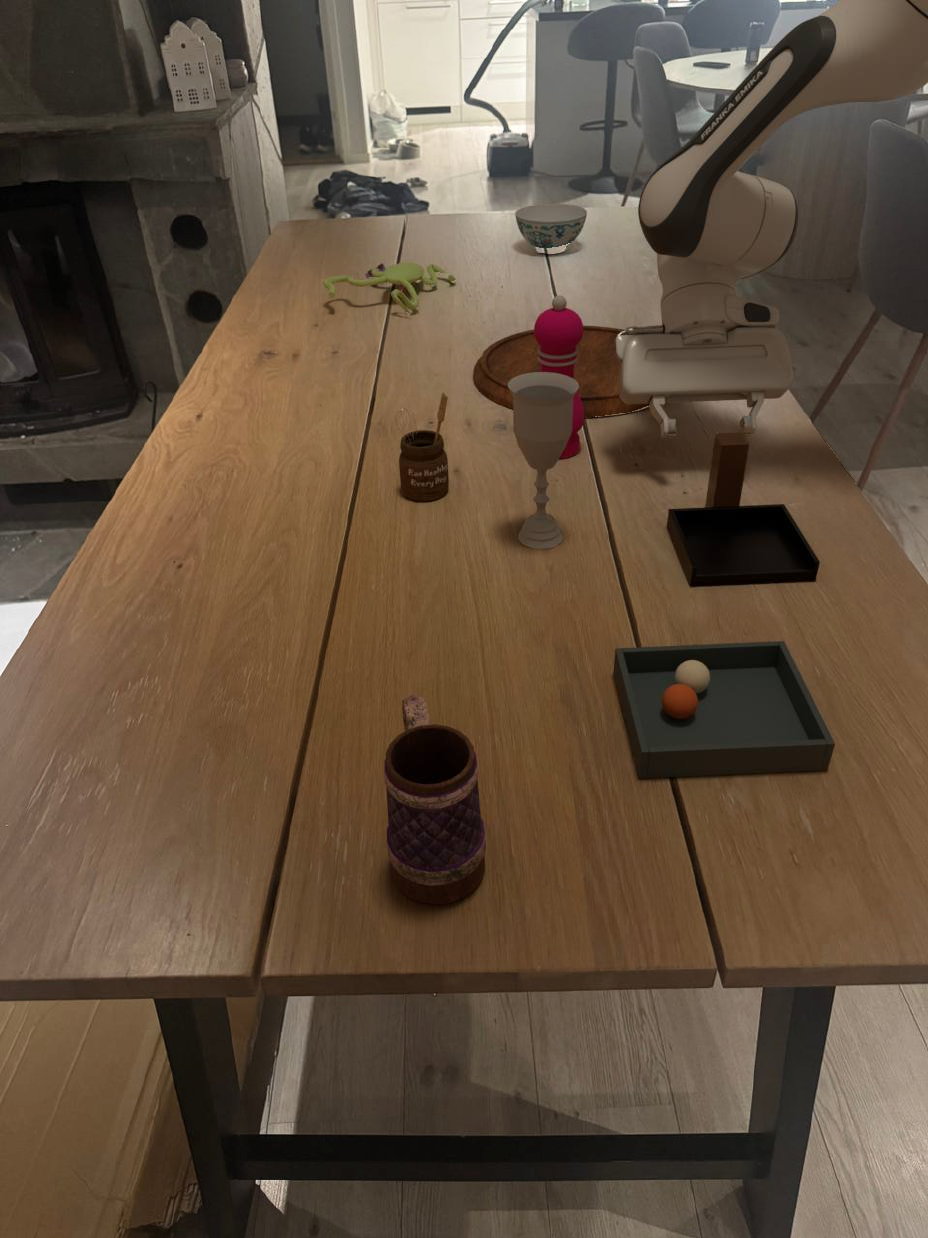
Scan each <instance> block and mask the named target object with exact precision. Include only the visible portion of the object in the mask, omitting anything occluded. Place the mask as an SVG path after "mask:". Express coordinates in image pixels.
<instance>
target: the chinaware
mask: <svg viewBox="0 0 928 1238" xmlns="http://www.w3.org/2000/svg"><path fill="white" fill-rule="evenodd" d="M587 215H588V211H587V209H586V208H584V207H582V206H578V205H574V204H569V203H568V204H567V203H566V204H565V203H540V204H539V203H538V204H533V205H527V206H524V207H521V208H518V209H517V210H516V211H515V213H514V216H515V220H516V225H517V228H518V230H519V232H520V234H521V236H522V237H523V239H524V240H525V241H526V242H527V243H528V244H529V245H530V246H532V247H534V246H535V247H539V248H552V247H559V246H562V245H566V244H568V243H571V242H572V241H573V242H575V240H576V239H577V238H578V237H579V235H580V234H581V232H582V230H583V229H584V226H585V223H586V219H587ZM573 242H572V243H573ZM572 243H571V244H572ZM535 247H534V248H535Z"/></svg>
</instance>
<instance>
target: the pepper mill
mask: <svg viewBox="0 0 928 1238" xmlns="http://www.w3.org/2000/svg"><path fill="white" fill-rule="evenodd" d="M567 305H568V304H567V299H566V297H565V296H563V295H560V294H559V295H556V296H554V297H553V298H552V301H551V307H550V308H548V309H545V310H544V311H542V312H541V313H540V314H539V315H538V316H537V318H536V320H535V323H534V326H533V330H534V337H535V340H536V341H537V343H538V344H539V345H540V347H539V348H538V354H539V355H538V361H539V362H540V363H541V372H550V373H558V374H562V375H566V376H568V377H571V378H573V379H574V364H575V362H577V360H578V356H577V354H578V348H577V347H576V345H577V344H578V343H579V342H580V341H581V339H582V337H583V326H584V324H583V321H582V318H581V317H580V315H579V314H578V313H577V312H576V311H575V310H573V309H571V308H568V307H567ZM584 424H585V418H584V409H583V405H582V402H581V399H580V397H579V394H578V392H577V391H576V393H575V395H574V397H573V418H572V433H571V435H570V437H569V440H568V442H567V445H566V447H565V449H564V451H563V452H562V454H561V456H560V457H559V459H558V460H563V459H566V458H571V457H573V456H575V455H576V454H577V453H578V452H579V450H580V441H581V438H580V437H581V436H580V435H579V433H578V432H579V431H580V430H581V429H582V428H583V426H584Z"/></svg>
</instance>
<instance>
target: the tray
mask: <svg viewBox="0 0 928 1238" xmlns="http://www.w3.org/2000/svg"><path fill="white" fill-rule="evenodd" d="M688 660H696V661H699V662H701V663H703V664H704V665H705V666H706V667H707V668H708V670H709V673H710V682H709V685H708V686H707V688H706V689H705V690H704V691H702V692H701V693H698V694H696V695H697V698H698V706H697V709H696V711H695V712H694V713H693V714H692V715H691V716H690V717H688V718H685V719H675V718H672V717H670V716H669V715H668V714H667V713H666V712H665V711H664V709H663V706H662V696H663V694H664V692H665V691H666V689H667V688H669V687H670V686H672V685H675V684H676V681H675V673H676V670H677V668H678V667H679V666H680V664H682V663H683V662H685V661H688ZM612 674H613V678H614V681H615V682H614V683H615V686H616V691H617V695H618V699H619V702H620V707H621V711H622V714H623V715H622V716H623V718H624V722H625V728H626V731H627V737H628V739H629V744H630V748H631V752H632V756H633V760H634V764H635V769H636V772H637V776H638V779H639V780H641V779H660V778H661V779H663V778H686V777H687V778H688V777H708V776H726V775H727V776H730V775H731V776H733V775H754V774H755V775H756V774H777V773H778V774H779V773H780V774H781V773H799V772H801V773H802V772H822V771H823V772H825V771H828V770H829V768H830V765H831V764H830V763H831V760H832V756H833V753H834V749H835V746H836V743H835V741H834V738H833V736H832V735H831V733H830V730H829V729H828V726H827V724H826V722H825V719H823V716H822V714H821V712H820V711H819V708H818V706H817V704H816V703H815V701H814V698H813V697H812V694H811V693H810V690H809V689H808V686H807V685H806V682H805V680H804V678H803V676H802V674H801V671H800V670H799V668H798V666H797V664H796V662H795V661H794V658H793V656H792V653H791V652H790V650H789V648H788V646H787V644H786V642H785V640H778V641H777V640H775V641H774V640H773V641H753V642H732V643H731V642H729V643H708V644H683V645H662V646H659V645H658V646H638V647H637V646H636V647H635V646H634V647H616V648H615V649H614V660H613V673H612Z"/></svg>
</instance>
